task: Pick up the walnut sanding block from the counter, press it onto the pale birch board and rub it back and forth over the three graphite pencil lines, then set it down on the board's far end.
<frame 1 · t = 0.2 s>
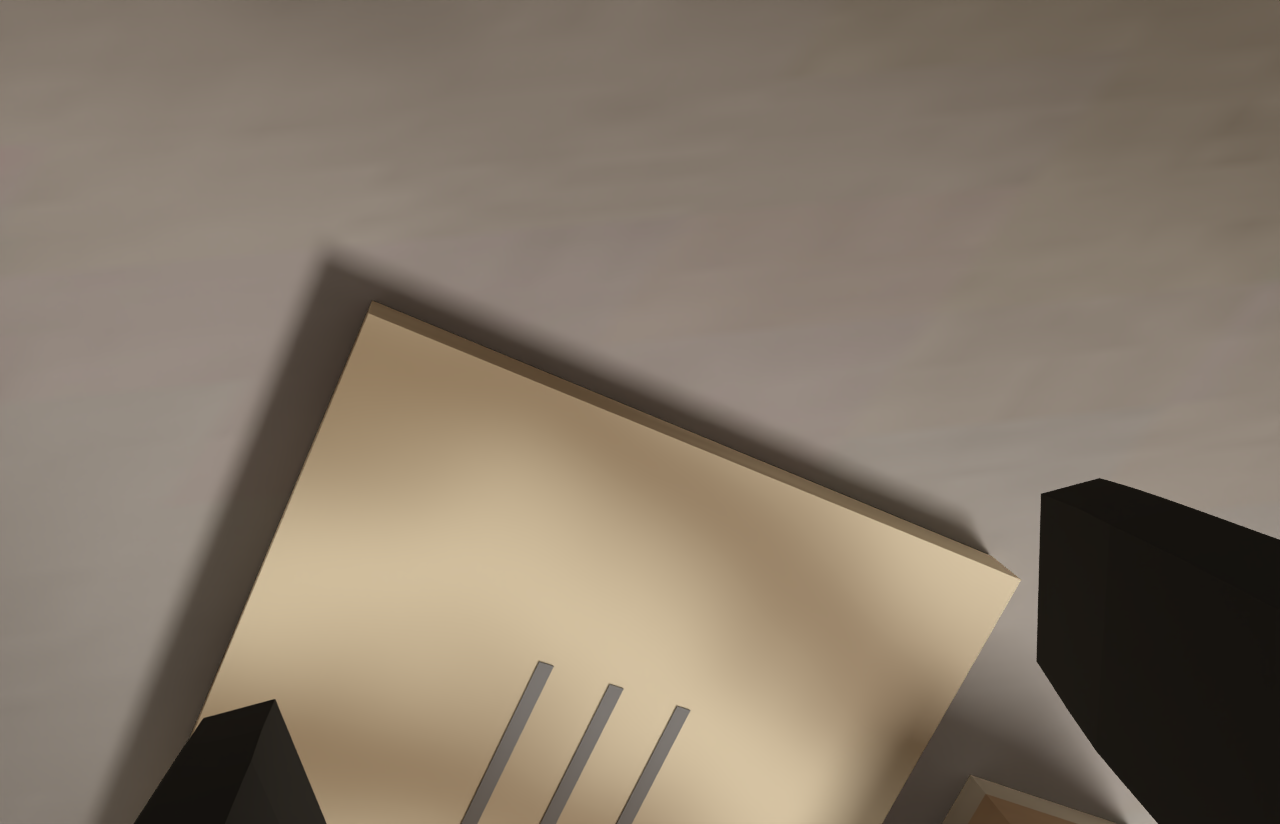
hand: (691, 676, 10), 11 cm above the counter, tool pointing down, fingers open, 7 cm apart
board: (527, 814, 22), on the counter
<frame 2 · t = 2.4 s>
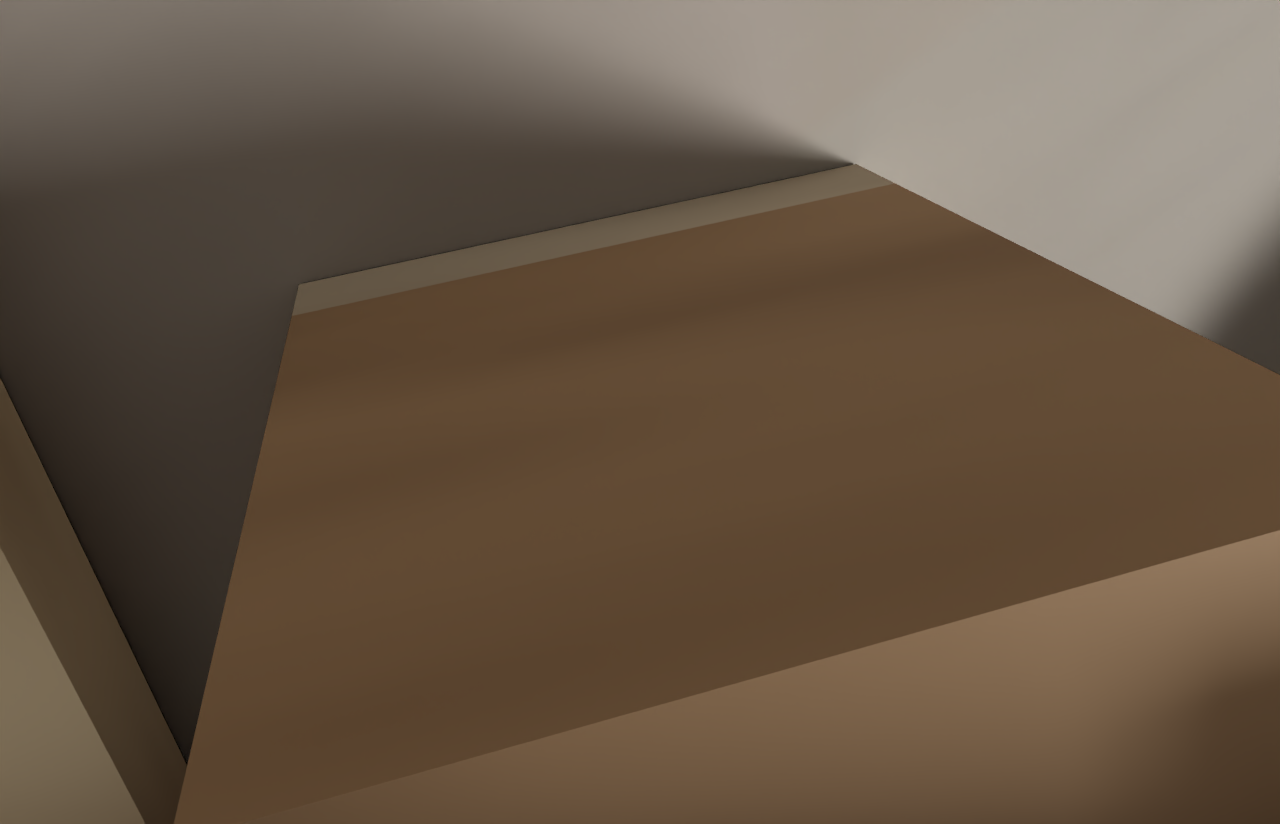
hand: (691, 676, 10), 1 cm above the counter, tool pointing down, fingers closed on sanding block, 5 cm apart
sanding block: (654, 590, 11), on the counter, touching gripper
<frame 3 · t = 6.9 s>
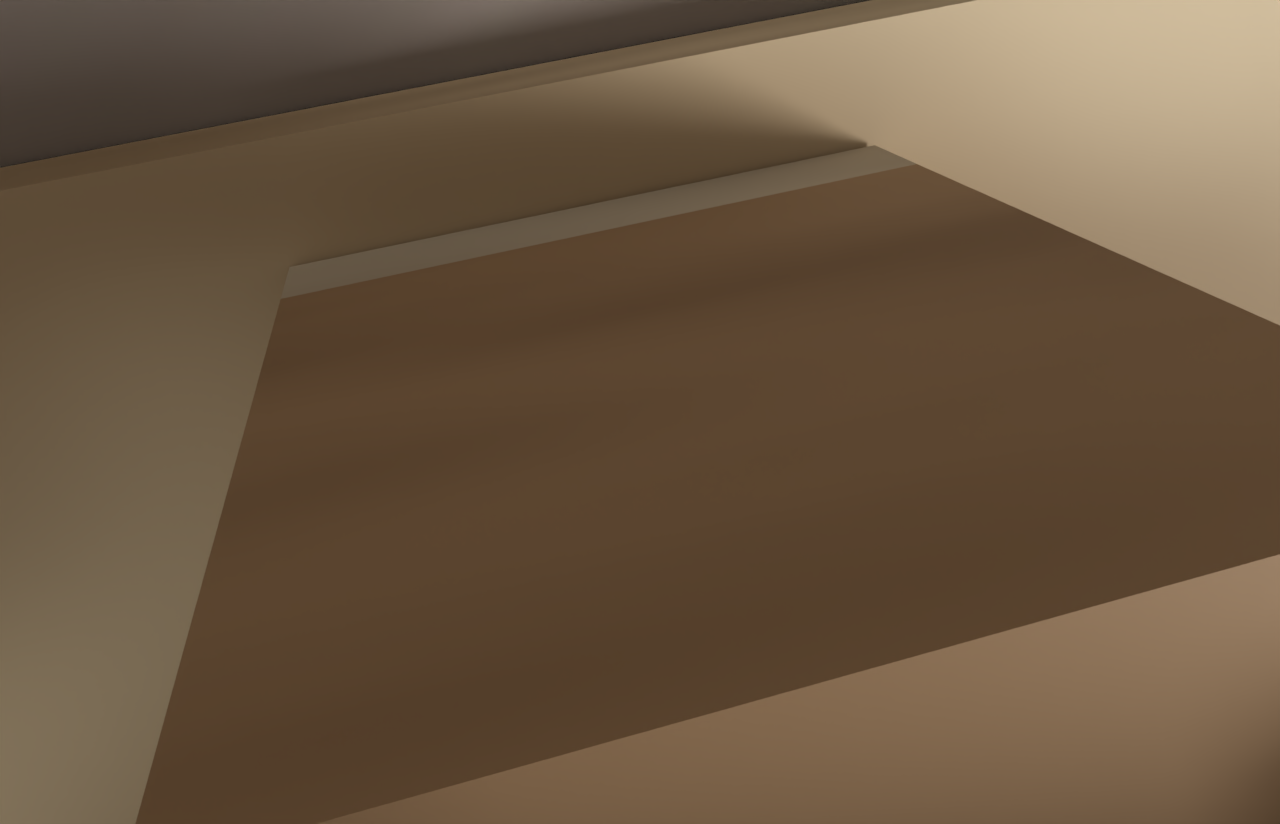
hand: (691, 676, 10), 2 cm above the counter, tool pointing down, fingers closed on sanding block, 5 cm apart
board: (683, 784, 13), on the counter
sanding block: (660, 590, 10), point 1 cm above the counter, touching gripper
when the fingers open (3 cm above the counter, at t = 11.6 s): sanding block stays where it is, resting on board.
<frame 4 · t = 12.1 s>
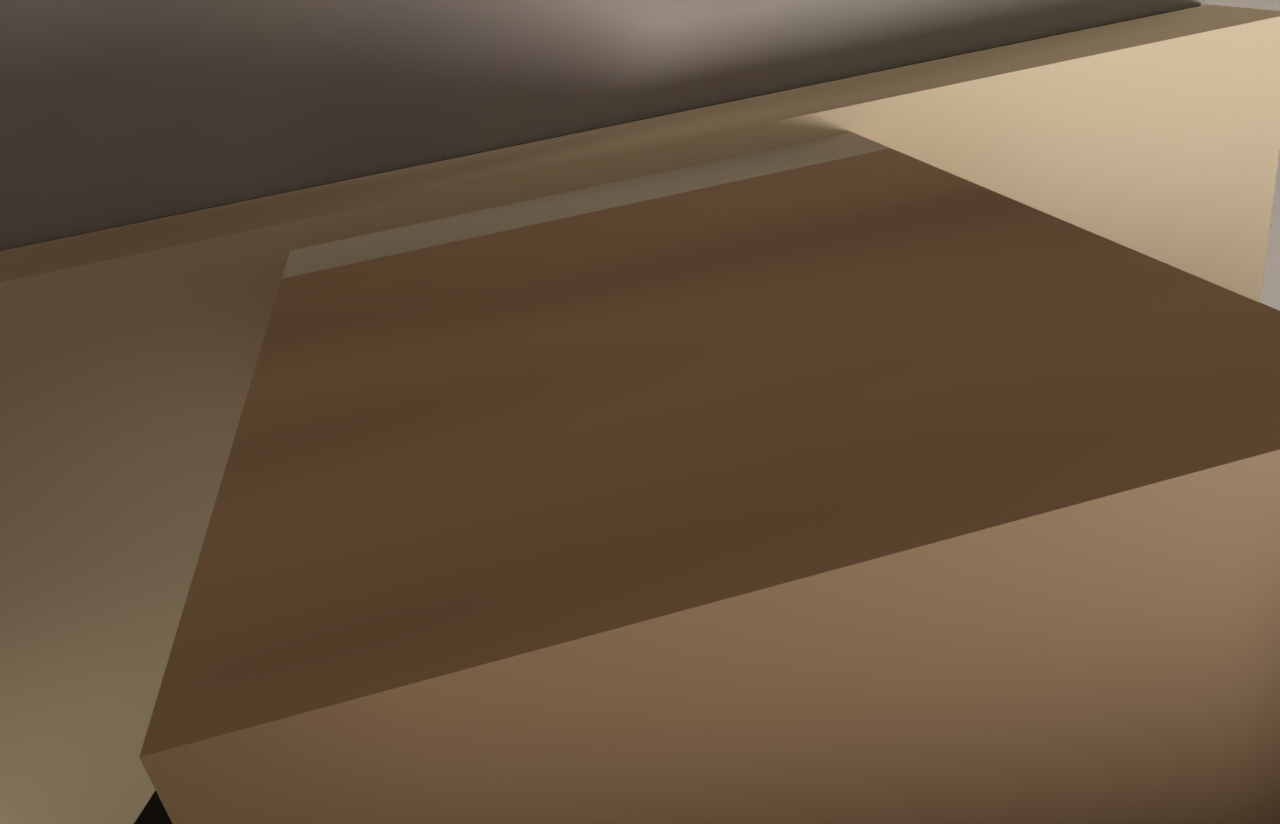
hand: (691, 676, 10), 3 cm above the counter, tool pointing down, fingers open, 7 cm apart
board: (681, 803, 14), on the counter
sanding block: (650, 566, 11), point 1 cm above the counter, touching board
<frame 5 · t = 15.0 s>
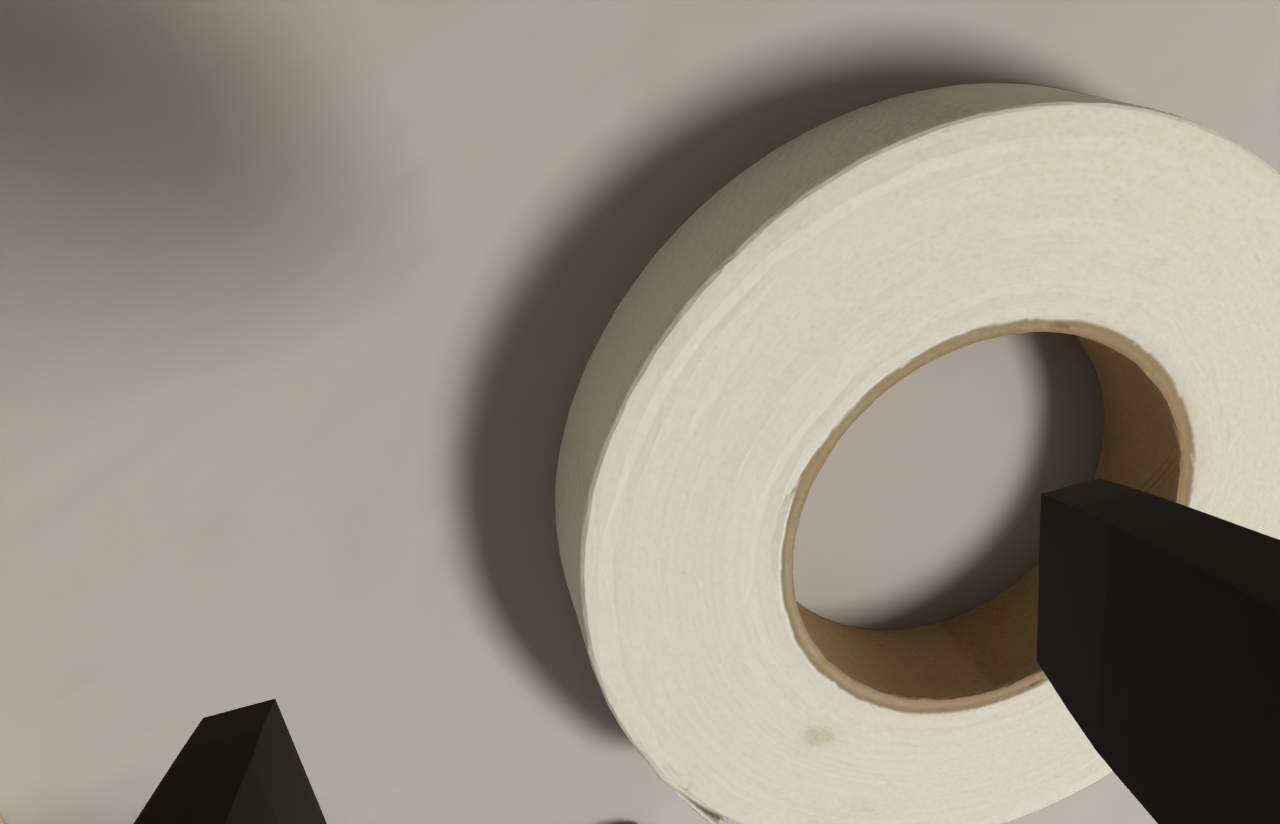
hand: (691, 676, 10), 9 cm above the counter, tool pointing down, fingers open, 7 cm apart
roll of tape: (917, 463, 22), on the counter
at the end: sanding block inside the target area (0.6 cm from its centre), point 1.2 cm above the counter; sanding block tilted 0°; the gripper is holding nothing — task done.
